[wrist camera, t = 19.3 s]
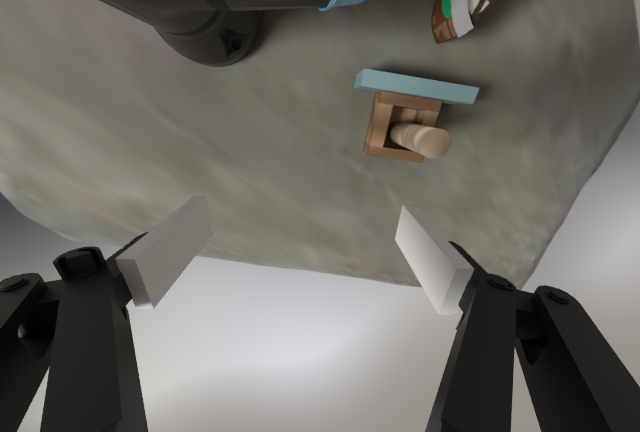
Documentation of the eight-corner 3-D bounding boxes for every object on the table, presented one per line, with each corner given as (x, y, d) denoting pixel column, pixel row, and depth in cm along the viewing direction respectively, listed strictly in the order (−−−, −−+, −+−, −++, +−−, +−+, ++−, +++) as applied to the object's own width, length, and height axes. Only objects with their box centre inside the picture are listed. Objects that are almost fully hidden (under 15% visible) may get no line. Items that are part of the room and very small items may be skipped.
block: (375, 92, 36) (382, 91, 33) (430, 101, 37) (442, 101, 33) (363, 150, 40) (368, 155, 36) (413, 157, 41) (422, 162, 37)
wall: (356, 74, 35) (363, 68, 30) (455, 90, 36) (479, 87, 31) (353, 89, 36) (360, 85, 31) (450, 104, 37) (473, 104, 32)
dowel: (389, 120, 37) (426, 126, 25) (408, 122, 38) (455, 130, 25) (384, 140, 39) (417, 156, 26) (402, 142, 39) (444, 160, 26)
